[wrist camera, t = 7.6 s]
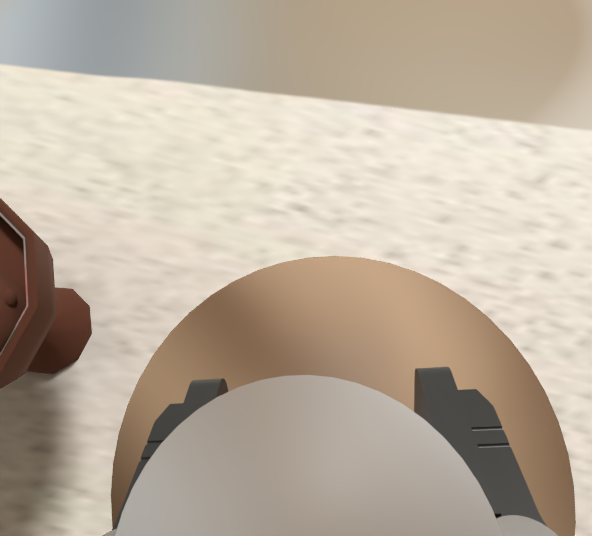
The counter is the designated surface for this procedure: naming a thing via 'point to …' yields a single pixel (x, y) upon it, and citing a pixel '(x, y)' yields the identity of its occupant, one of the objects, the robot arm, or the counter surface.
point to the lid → (330, 412)
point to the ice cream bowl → (35, 306)
